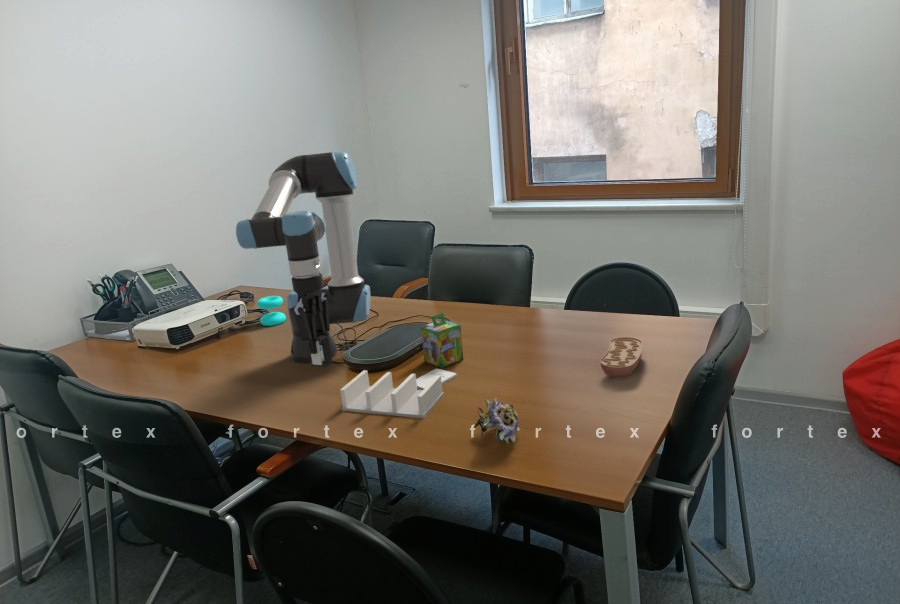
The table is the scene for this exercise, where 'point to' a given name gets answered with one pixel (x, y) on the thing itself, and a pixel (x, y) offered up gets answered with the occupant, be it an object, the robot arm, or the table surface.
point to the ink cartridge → (324, 351)
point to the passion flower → (499, 420)
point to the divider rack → (391, 396)
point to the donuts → (272, 317)
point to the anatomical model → (622, 357)
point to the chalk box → (442, 342)
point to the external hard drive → (428, 377)
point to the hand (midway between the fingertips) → (320, 362)
